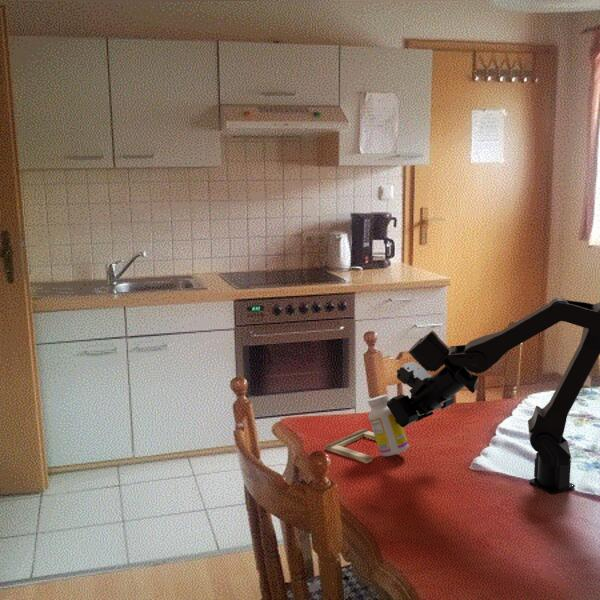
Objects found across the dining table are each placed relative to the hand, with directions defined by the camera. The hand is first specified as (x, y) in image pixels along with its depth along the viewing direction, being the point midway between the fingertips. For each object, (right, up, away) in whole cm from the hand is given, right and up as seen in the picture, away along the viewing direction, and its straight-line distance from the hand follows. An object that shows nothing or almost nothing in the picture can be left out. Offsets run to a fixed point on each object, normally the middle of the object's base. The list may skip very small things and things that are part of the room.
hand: (397, 421), depth 159 cm
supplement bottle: (0, -7, +2) cm, 8 cm away
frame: (-6, -8, +7) cm, 12 cm away
